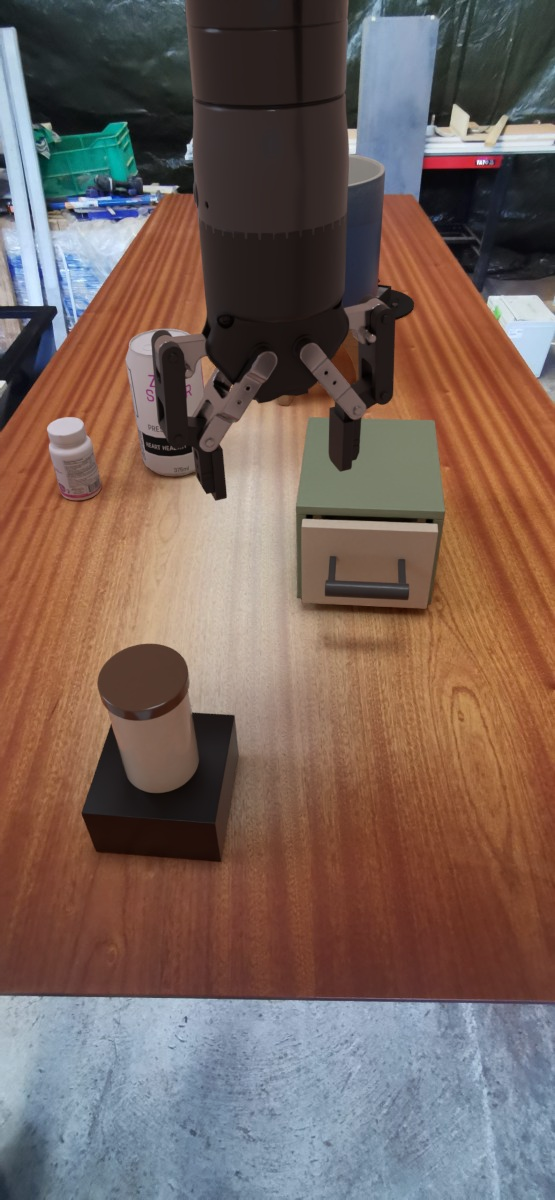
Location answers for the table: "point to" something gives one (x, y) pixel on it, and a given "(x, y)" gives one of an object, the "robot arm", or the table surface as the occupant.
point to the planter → (360, 240)
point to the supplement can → (144, 401)
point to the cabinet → (373, 477)
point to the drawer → (367, 560)
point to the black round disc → (395, 300)
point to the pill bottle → (73, 459)
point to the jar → (151, 715)
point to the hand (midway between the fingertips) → (280, 478)
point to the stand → (166, 800)
